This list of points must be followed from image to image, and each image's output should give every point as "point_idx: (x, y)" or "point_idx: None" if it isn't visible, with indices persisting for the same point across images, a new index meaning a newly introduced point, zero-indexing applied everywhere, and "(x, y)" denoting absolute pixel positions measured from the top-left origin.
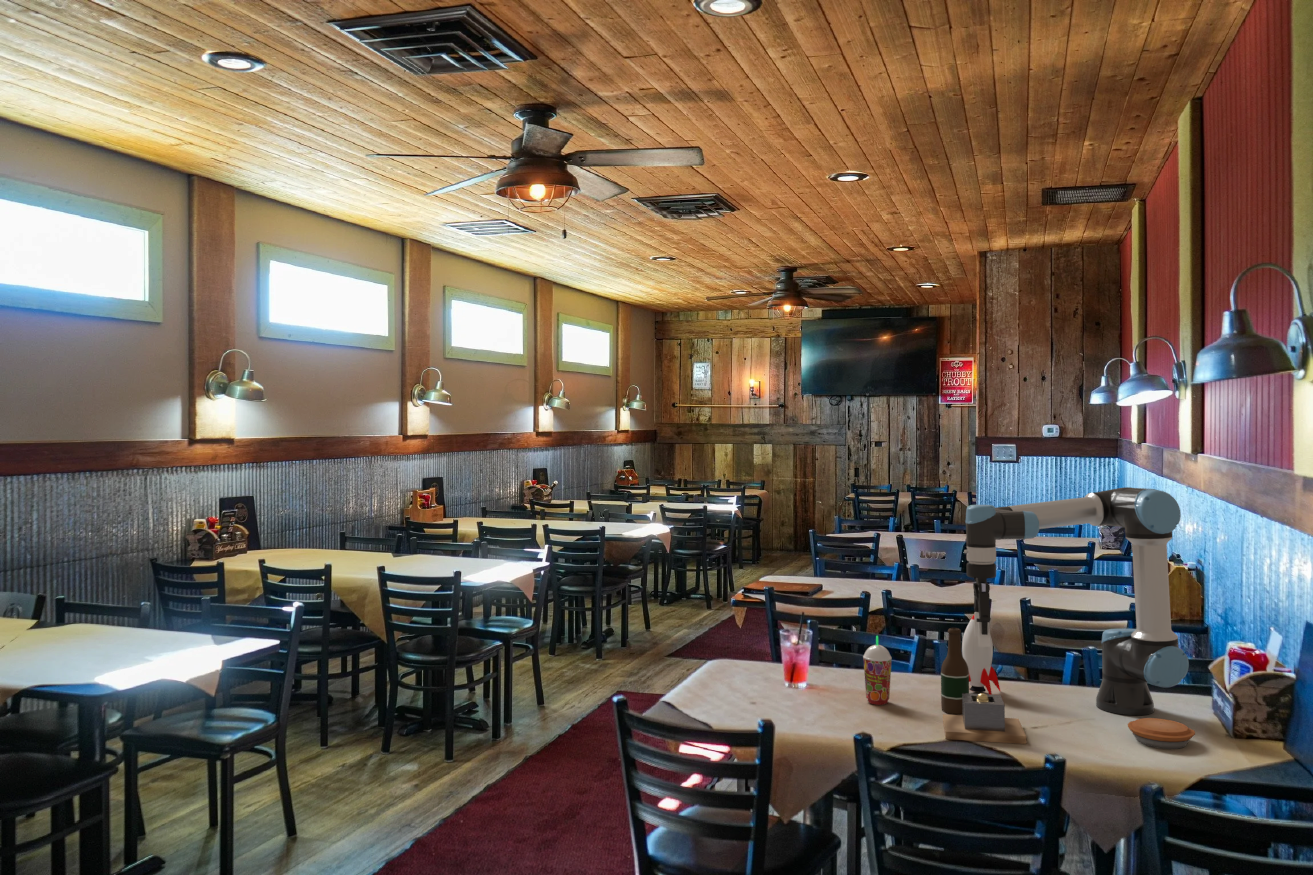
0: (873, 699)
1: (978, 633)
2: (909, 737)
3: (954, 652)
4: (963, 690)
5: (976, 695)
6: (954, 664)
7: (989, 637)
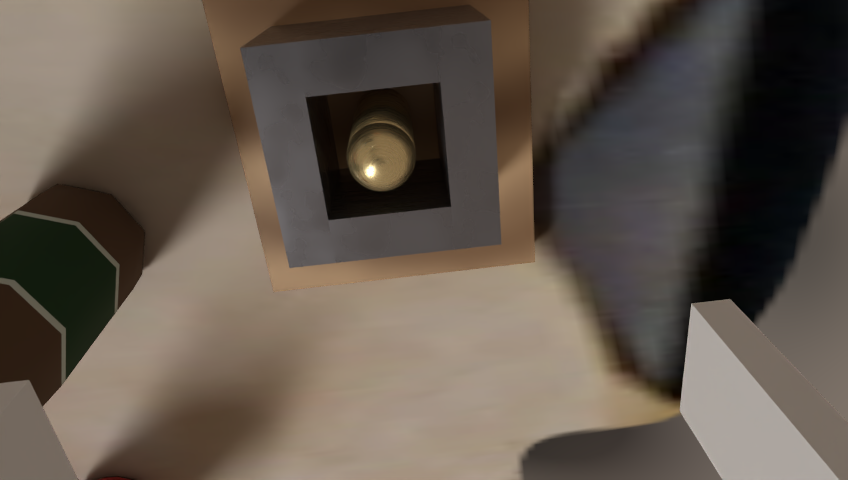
0: None
1: (44, 473)
2: (539, 362)
3: None
4: (69, 254)
5: (312, 192)
6: None
7: (806, 385)
